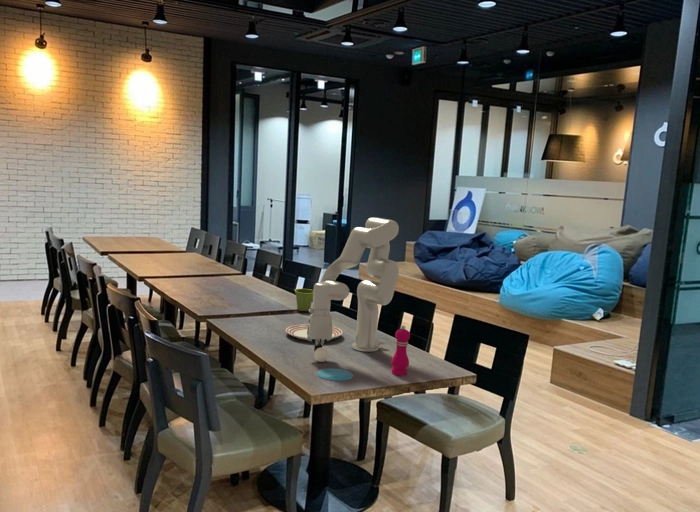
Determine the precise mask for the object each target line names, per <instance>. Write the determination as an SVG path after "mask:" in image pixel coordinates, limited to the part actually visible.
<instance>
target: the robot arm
mask: <svg viewBox="0 0 700 512" xmlns="http://www.w3.org/2000/svg"><path fill="white" fill-rule="evenodd" d="M364 226H365V227H363V226H356V227H354V228H353V229H352V230H351V232H350V234H349V236H348V238H347V241H346V243H345V246H344V247H343V250H342V252H341V254H340V256H339V257H338V258H337V259H335V260H334V261H333V262H332V263H331V264H330V265H329V266H328V267H327V268H326V269H325V270H324V271H325V272H323V275H322V277H321V280H320V282H316V283H314V285H313V290H314V292H313V299H312V305H311V308H310V309H309V311H308V313H310V314H309V318H308V322H307V324H308V329H307V335H308V336H307V340H308V341H307V340H306V341H307V342H312V343H313V344H314V348H313V350H314V351H313V352H315V351H316V349H318V348H323V346H324V344H325V343H326V342H329V341H331V340H332V339H331V337H332V326H333V318H332V315H331V301H343V300H346V299H347V297H349V294H350V288H349V286H348V285H347V284H345V283H343V282H340V281H337V278H338V277H339V275H340V274H341V273H342V272H343V273H344V271H346V270H349V269H352V268H354V267H356V266H358V265H359V264H360V261H361V258H362V256H363V254H364V252H365V249H366V248H368V249H370V252H369V255H368V260H367V263H366V268H365V272H366V275H368V277H371V278H374V279H377V280H379V281H376V280H372V279H364V280H361V281H360V282H359V283H358V285H357V289H356V294H357V295H356V296H357V313H356V314H357V315H356V318H357V319H356V329H355V341H354V342H353V343H351V348H352V349H354V350H355V351H358V352H365V353H366V352H368V353H371V352H377V351H379V349H380V345H386V344H387V341H386V339H384V340H383V339H381V338H380V339H378V336H377V334H378V323H379V321H378V320H379V305H380V306H386V305H388V304H390V303H391V301H392V299H393V297H394V293H395V290H396V286H397V283H398V278H399V275H400V271H399V270H400V269H399V265H398V264H397V262H396V261H395V260H391V259H389V255H390V249H391V245H390V241H392V240H394V239H395V238H396V237H397V236H398V234H399V230H400V229H399V228H400V226H399V224H398V222H397V221H395V220H392V219H389V218H388V219H387V218H382V217H369V218H368V219H367V220H366V221H365V225H364ZM318 339H320V340H319V341H318Z"/></svg>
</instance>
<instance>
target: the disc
mask: <svg viewBox="0 0 700 512" xmlns="http://www.w3.org/2000/svg"><path fill="white" fill-rule="evenodd" d="M316 373H317V374H316V375H317V376H318V377H319V378H321V379H324V380H326V379H327V381H331V380H332V381H333V382H343V380H344V381H348V380H349V381H350V379H352V378H353V377H354V375H353V374H352V373H351V371H348V370H346V369H343V368H332V367H331V368H323V369H320V370H318V371H317V372H316Z"/></svg>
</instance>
